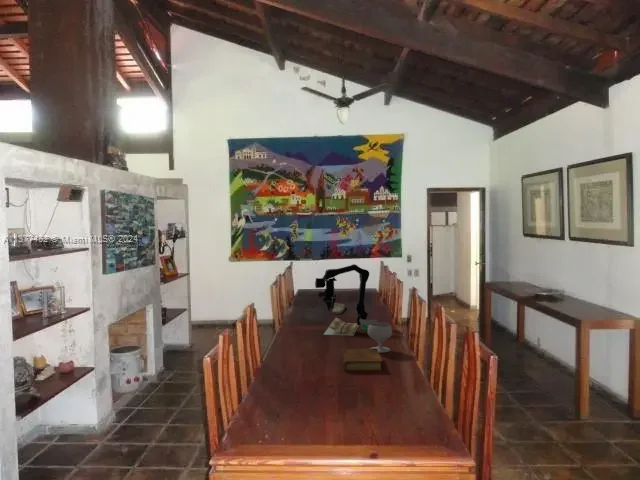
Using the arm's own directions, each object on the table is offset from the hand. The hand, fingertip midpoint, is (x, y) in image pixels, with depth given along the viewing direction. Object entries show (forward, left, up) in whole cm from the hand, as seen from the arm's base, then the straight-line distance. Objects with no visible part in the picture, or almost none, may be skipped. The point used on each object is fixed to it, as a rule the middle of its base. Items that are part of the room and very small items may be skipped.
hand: (330, 309), depth 336 cm
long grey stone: (+3, -58, -13) cm, 60 cm away
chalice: (-39, +58, -12) cm, 70 cm away
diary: (-31, +85, -13) cm, 92 cm away
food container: (-28, +21, -12) cm, 37 cm away
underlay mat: (-10, +12, -12) cm, 19 cm away
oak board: (-15, +12, -12) cm, 22 cm away
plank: (-6, +12, -9) cm, 16 cm away
